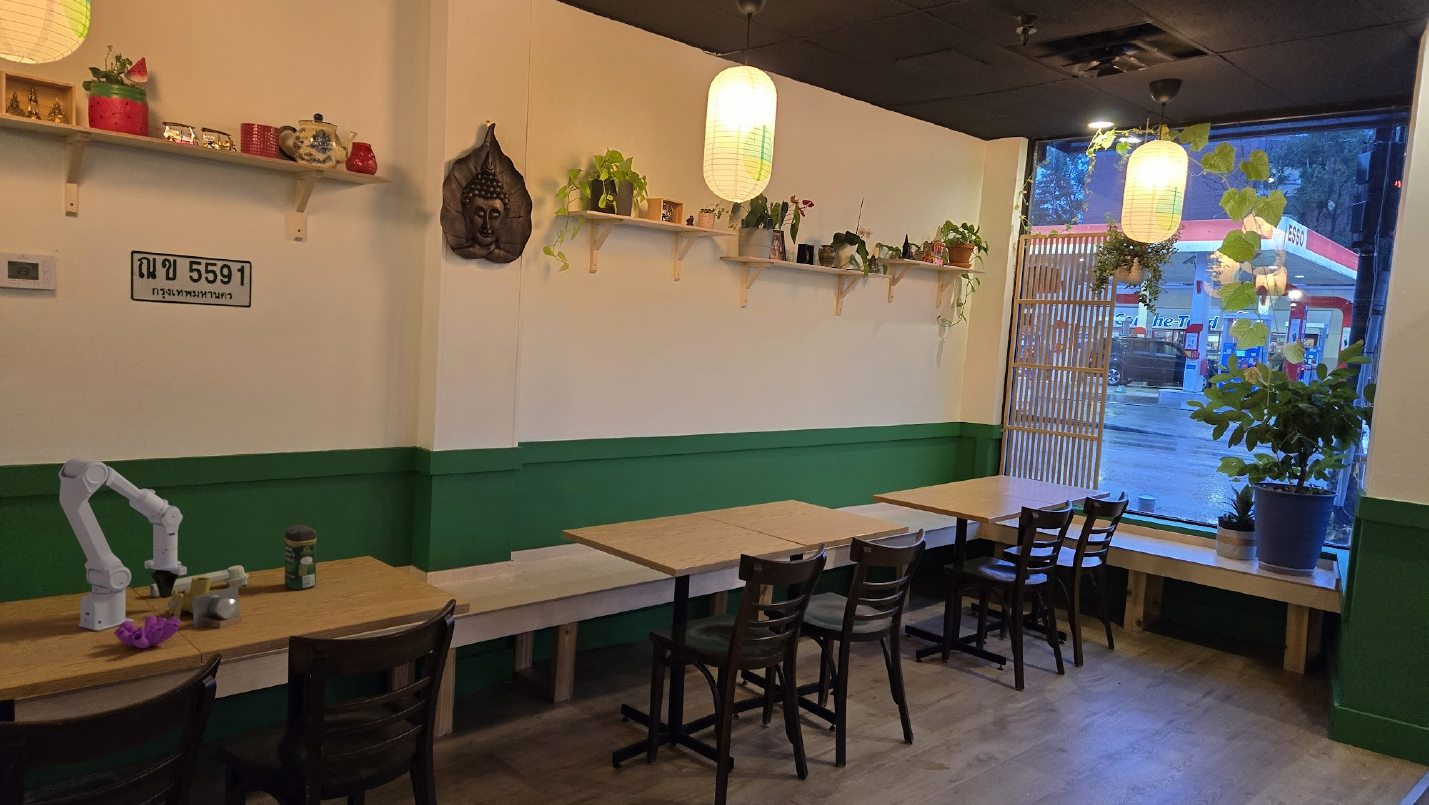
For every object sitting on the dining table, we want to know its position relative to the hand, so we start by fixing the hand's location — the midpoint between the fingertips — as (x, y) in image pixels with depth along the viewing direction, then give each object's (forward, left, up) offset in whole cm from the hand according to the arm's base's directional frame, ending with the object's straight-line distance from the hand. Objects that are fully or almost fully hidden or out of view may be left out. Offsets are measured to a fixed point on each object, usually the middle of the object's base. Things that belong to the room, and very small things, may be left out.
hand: (165, 597), depth 254 cm
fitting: (0, -23, -3) cm, 23 cm away
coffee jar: (+35, -11, -4) cm, 37 cm away
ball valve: (0, -9, -4) cm, 10 cm away
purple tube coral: (-20, -22, -4) cm, 30 cm away
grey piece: (+17, +8, -4) cm, 19 cm away
